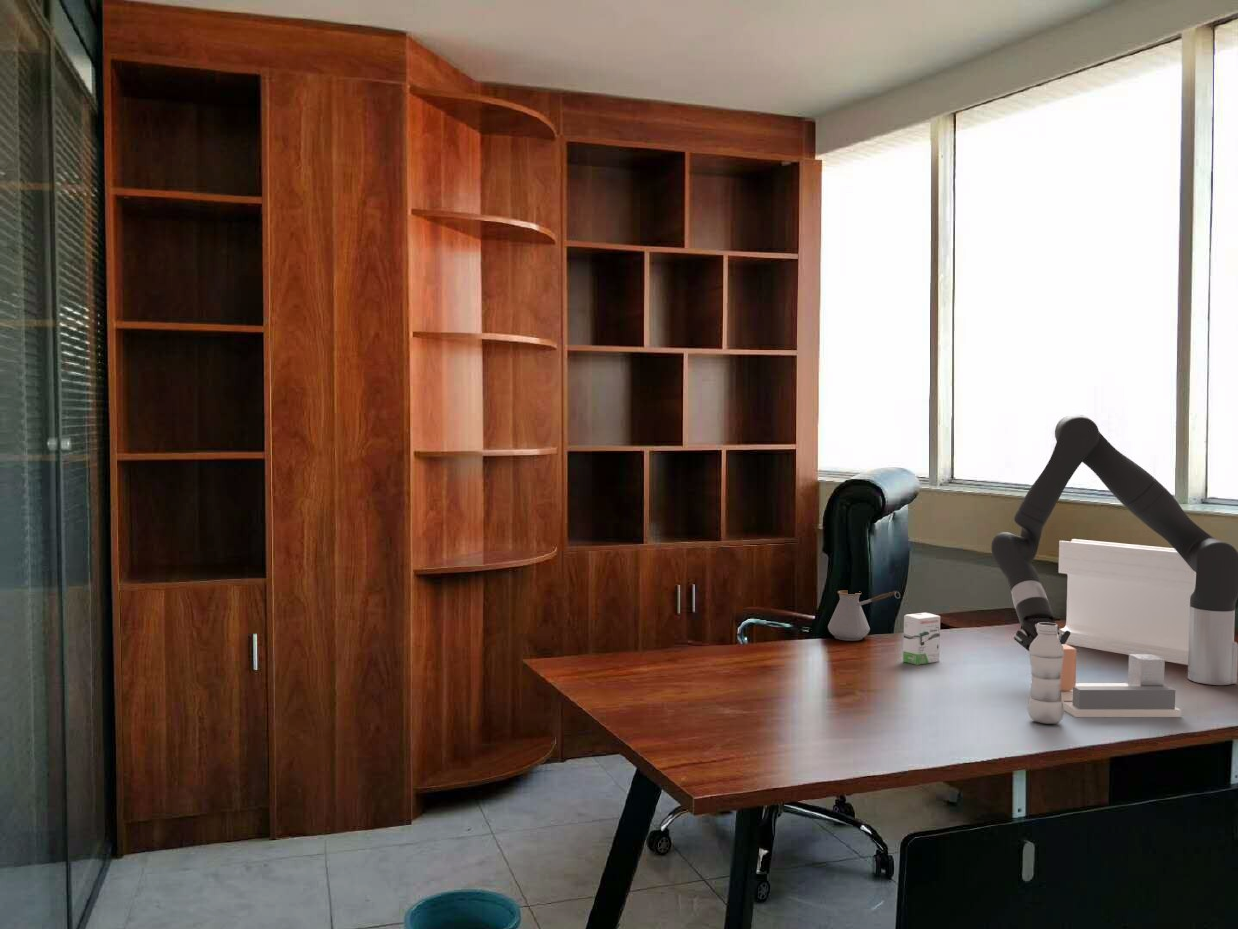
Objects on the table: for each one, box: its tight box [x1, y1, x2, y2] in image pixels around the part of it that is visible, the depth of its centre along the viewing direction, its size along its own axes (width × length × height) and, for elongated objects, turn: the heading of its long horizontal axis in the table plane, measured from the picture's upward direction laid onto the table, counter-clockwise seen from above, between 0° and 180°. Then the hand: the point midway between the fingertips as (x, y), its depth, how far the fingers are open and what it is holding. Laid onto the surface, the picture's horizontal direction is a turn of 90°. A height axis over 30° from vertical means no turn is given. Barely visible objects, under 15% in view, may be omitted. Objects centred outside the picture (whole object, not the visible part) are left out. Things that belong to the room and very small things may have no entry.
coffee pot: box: [827, 589, 901, 642], centre depth 291 cm, size 21×12×15 cm, turn 44°
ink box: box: [902, 612, 941, 666], centre depth 267 cm, size 9×5×12 cm, turn 123°
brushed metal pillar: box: [1127, 654, 1166, 686], centre depth 224 cm, size 5×5×9 cm
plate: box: [1030, 682, 1182, 718], centre depth 229 cm, size 22×22×6 cm
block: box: [1056, 538, 1196, 666], centre depth 280 cm, size 35×8×28 cm, turn 41°
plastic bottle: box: [1027, 622, 1065, 725], centre depth 213 cm, size 6×7×20 cm
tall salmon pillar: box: [1061, 644, 1077, 690], centre depth 234 cm, size 5×5×9 cm
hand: (1053, 668), depth 237 cm, fingers closed
